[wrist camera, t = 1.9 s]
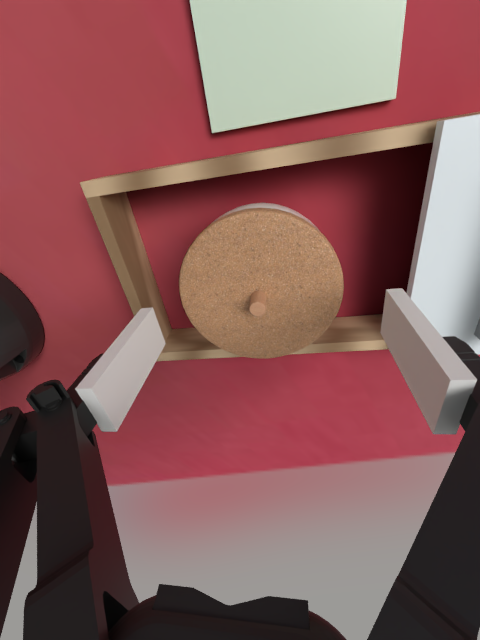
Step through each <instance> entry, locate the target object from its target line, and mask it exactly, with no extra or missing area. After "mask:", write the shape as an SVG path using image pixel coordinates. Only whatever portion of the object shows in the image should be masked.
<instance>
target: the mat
mask: <svg viewBox="0 0 480 640" xmlns="http://www.w3.org/2000/svg"><path fill="white" fill-rule="evenodd" d="M406 2H407V0H190V6H191V12H192V18H193V24H194V30H195V36H196V41H197V47H198V53H199V59H200V65H201V71H202V77H203V83H204V89H205V94H206V100H207V106H208V112H209V118H210V124H211V130H212V133H217V132H223V131H228V130H233V129H239V128H244V127H249V126H255V125H260V124H265V123H271V122H276V121H281V120H287V119H292V118H297V117H303V116H308V115H313V114H319V113H324V112H329V111H335V110H340V109H345V108H351V107H356V106H361V105H366V104H372V103H377V102H382V101H388V100H393V99H396V92H397V83H398V74H399V65H400V56H401V47H402V38H403V29H404V20H405V11H406Z"/></svg>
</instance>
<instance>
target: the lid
mask: <svg viewBox="0 0 480 640" xmlns="http://www.w3.org/2000/svg"><path fill="white" fill-rule="evenodd" d="M406 294H407V295H408V296H409V297H410V298H411V300H412V301H413V302H414V303H415V305H416V306H417V307H418V308H419V309H420V311H421V312H422V313H423V314H424V315H425V317H426V318H427V319H428V320H429V322H430V323H431V324H432V325H433V326H434V328H435V329H436V330H437V331H438V332H439V334H440V335H441V336H442V337H448V336H455V337H457V338H459V339H460V340H462V341H464V342H466V343H467V344H468V345H469V346H470V347H471V348H472V349H473V350H474V351H475V353H476V354H480V114H476V115H470V116H465V117H459V118H453V119H447V120H441V121H437V124H436V130H435V136H434V141H433V147H432V152H431V158H430V164H429V169H428V175H427V180H426V186H425V192H424V197H423V203H422V208H421V214H420V220H419V225H418V231H417V236H416V242H415V248H414V253H413V259H412V264H411V270H410V276H409V281H408V287H407V293H406Z"/></svg>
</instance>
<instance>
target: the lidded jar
mask: <svg viewBox="0 0 480 640" xmlns="http://www.w3.org/2000/svg"><path fill="white" fill-rule="evenodd" d="M343 289H344V282H343V273H342V269H341V265H340V262H339V259H338V257H337V255H336V253H335V251H334V249H333V247H332V246H331V244H330V243H329V241H328V240H327V239H326V237H325V236H324V235H323V234H322V233H321V232H320V231H319V229H318V228H317V227H316V226H315V225H314V224H313V223H312V222H311V221H310V220H309V219H307V218H306V217H304V216H303V215H301V214H300V213H298V212H297V211H295V210H292V209H290V208H288V207H285V206H282V205H278V204H272V203H252V204H248V205H244V206H240V207H237V208H235V209H233V210H230V211H228V212H226V213H225V214H223V215H222V216H220V217H219V218H217V219H216V220H215V221H214V222H213V223H211V224H210V225H209V226H208V227H206V228H205V229H204V230H203V231H202V232H201V233H200V234H199V235H198V236H197V238H196V239H195V240H194V242H193V243H192V244H191V246H190V247H189V249H188V251H187V253H186V255H185V257H184V259H183V262H182V265H181V269H180V276H179V293H180V297H181V302H182V305H183V308H184V310H185V312H186V315H187V316H188V318H189V320H190V321H191V323H192V324H193V325H194V327H195V328H196V329H197V330H198V332H199V333H200V334H202V335H203V336H204V337H205V338H206V339H207V340H208V341H210V342H211V343H213V344H214V345H216V346H217V347H219V348H221V349H223V350H225V351H227V352H230V353H233V354H236V355H240V356H243V357H249V358H274V357H280V356H285V355H289V354H292V353H294V352H296V351H299V350H301V349H303V348H305V347H306V346H308V345H310V344H311V343H313V342H314V341H315V340H317V339H318V338H319V337H320V336H321V335H322V334H323V333H324V332H325V331H326V330H327V329H328V328H329V326H330V325H331V323H332V322H333V321H334V319H335V317H336V315H337V313H338V311H339V308H340V305H341V302H342V298H343Z"/></svg>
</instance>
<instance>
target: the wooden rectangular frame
mask: <svg viewBox="0 0 480 640" xmlns="http://www.w3.org/2000/svg"><path fill="white" fill-rule="evenodd" d="M476 114H480V112H475V113H469V114H463V115H457V116H452V117H446V118H440V119H434V120H429V121H423V122H417V123H411V124H405V125H400V126H394V127H388V128H382V129H376V130H371V131H365V132H359V133H353V134H348V135H342V136H336V137H330V138H324V139H319V140H313V141H307V142H301V143H295V144H290V145H284V146H278V147H272V148H267V149H261V150H255V151H249V152H243V153H238V154H232V155H226V156H220V157H214V158H209V159H203V160H197V161H191V162H186V163H180V164H174V165H168V166H162V167H157V168H151V169H145V170H139V171H134V172H128V173H122V174H116V175H110V176H106V177H101V178H97V179H92V180H88V181H84V182H80V185H81V187H82V189H83V192H84V194H85V197H86V199H87V202H88V204H89V207H90V209H91V212H92V214H93V216H94V219H95V221H96V224H97V226H98V229H99V231H100V234H101V236H102V238H103V241H104V243H105V246H106V248H107V251H108V253H109V256H110V258H111V261H112V263H113V265H114V268H115V270H116V273H117V275H118V278H119V280H120V283H121V285H122V287H123V290H124V292H125V295H126V297H127V300H128V302H129V305H130V307H131V309H132V312H133V314H134V316H135V315H136V314H137V313H138V312H139V310H140V309H141V308H152V307H153V309H154V312H155V315H156V318H157V321H158V323H159V326H160V329H161V332H162V335H163V337H164V340H165V343H166V344H165V346H164V348H163V350H162V352H161V353H160V355H159V357H158V359H157V361H170V360H189V359H208V358H228V357H243V356H240V355H236V354H233V353H230V352H227V351H225V350H223V349H221V348H219V347H217V346H216V345H214V344H213V343H211V342H210V341H208V340H207V339H206V338H205V337H204V336H203V335H202V334H200V333H199V332H198V330H197V329H196V328H181V329H172V328H171V325H170V322H169V319H168V316H167V313H166V310H165V307H164V304H163V301H162V298H161V295H160V292H159V289H158V286H157V283H156V280H155V277H154V274H153V271H152V268H151V265H150V262H149V259H148V256H147V253H146V250H145V248H144V245H143V242H142V239H141V236H140V233H139V230H138V227H137V224H136V221H135V218H134V215H133V212H132V209H131V206H130V203H129V200H128V197H127V194H126V192H127V191H133V190H139V189H145V188H151V187H158V186H164V185H170V184H176V183H183V182H189V181H195V180H201V179H207V178H214V177H220V176H226V175H232V174H238V173H245V172H251V171H257V170H263V169H270V168H276V167H282V166H288V165H294V164H301V163H307V162H313V161H319V160H325V159H332V158H338V157H344V156H350V155H357V154H363V153H369V152H375V151H381V150H388V149H394V148H400V147H406V146H412V145H419V144H425V143H431V142H433V141H434V136H435V130H436V124H437V121H441V120H447V119H453V118H459V117H465V116H470V115H476ZM382 317H383V314H377V315H363V316H349V317H335V319H334V321H333V322H332V323H331V325H330V326H329V328H328V329H327V330H326V331H325V332H324V333H323V334H322V335H321V336H320V337H319V338H318V339H317V340H315V341H314V342H313V343H311V344H310V345H308V346H306V347H305V348H303V349H301V350H299V351H296V352H294V353H292V354H305V353H324V352H343V351H362V350H382V349H389V348H388V346H387V344H386V343H385V341H384V339H383V337H382V335H381V333H380V332H381V324H382Z"/></svg>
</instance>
